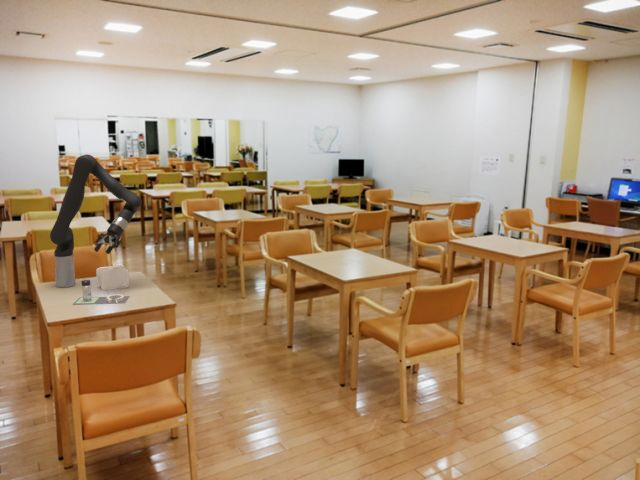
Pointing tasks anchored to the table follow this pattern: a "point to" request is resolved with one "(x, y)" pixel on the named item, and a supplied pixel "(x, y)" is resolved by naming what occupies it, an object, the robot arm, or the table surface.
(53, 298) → the table surface
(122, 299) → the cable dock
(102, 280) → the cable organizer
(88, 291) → the clear glass bottle
